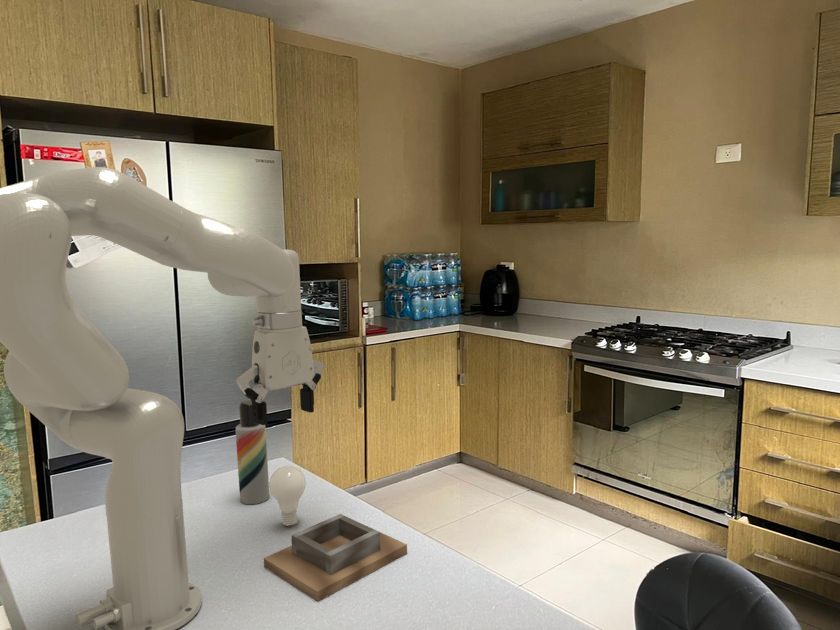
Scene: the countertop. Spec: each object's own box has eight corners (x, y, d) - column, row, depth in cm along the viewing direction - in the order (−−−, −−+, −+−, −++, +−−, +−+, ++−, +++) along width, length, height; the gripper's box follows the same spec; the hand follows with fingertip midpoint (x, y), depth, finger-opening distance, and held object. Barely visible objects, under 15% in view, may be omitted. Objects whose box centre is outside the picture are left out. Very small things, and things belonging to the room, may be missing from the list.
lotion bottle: (239, 495, 126) (233, 399, 124) (268, 491, 128) (263, 396, 125) (240, 506, 121) (234, 406, 118) (270, 502, 122) (264, 403, 120)
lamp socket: (317, 601, 89) (316, 571, 88) (264, 567, 98) (262, 540, 98) (407, 553, 102) (406, 527, 101) (351, 526, 111) (350, 502, 111)
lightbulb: (311, 517, 115) (308, 460, 114) (301, 534, 109) (298, 473, 108) (278, 517, 116) (275, 460, 115) (266, 533, 110) (263, 473, 108)
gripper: (246, 329, 99) (252, 433, 101) (332, 317, 111) (336, 410, 113) (223, 325, 104) (229, 424, 106) (308, 314, 117) (312, 403, 119)
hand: (284, 417), depth 110 cm, fingers open, 9 cm apart
